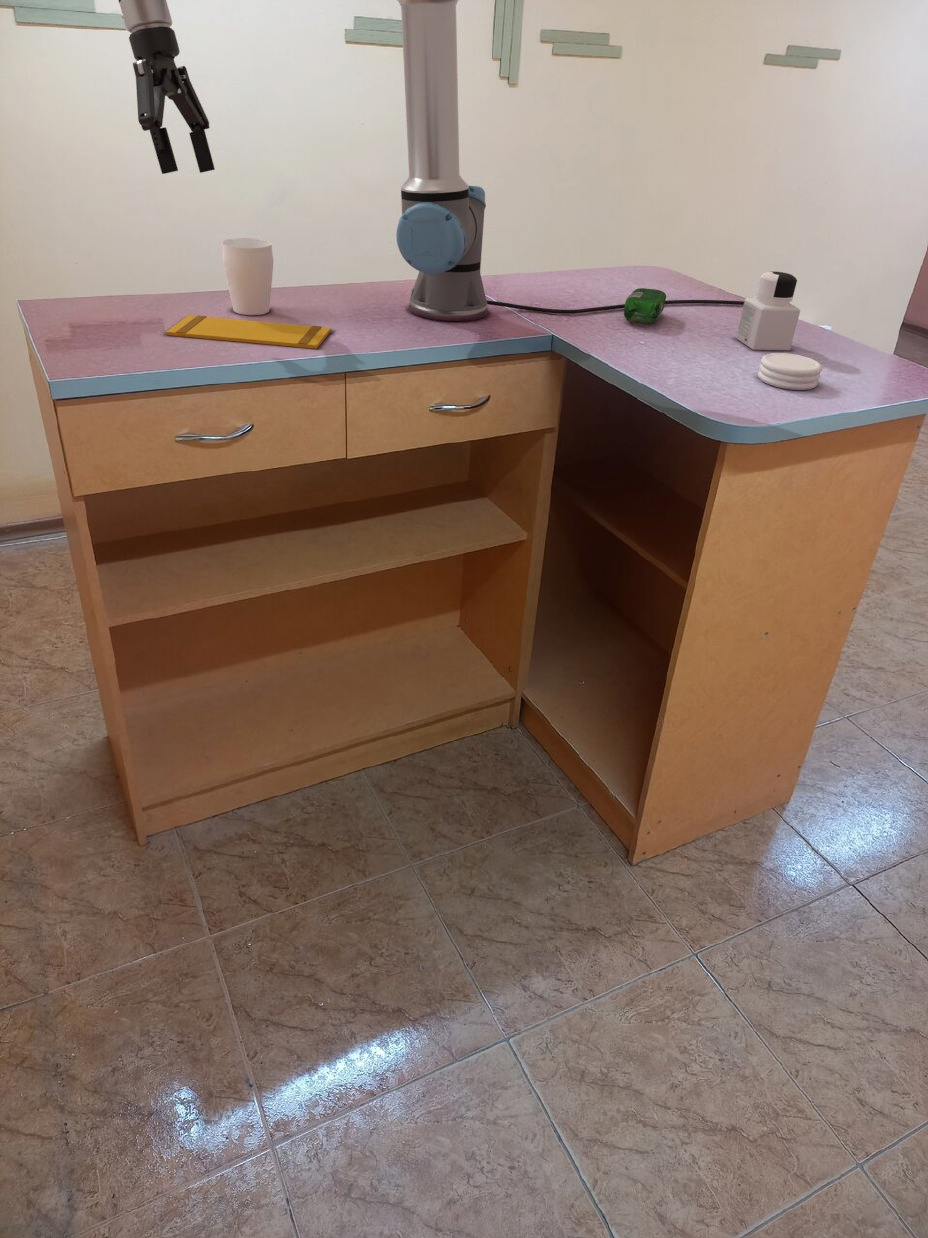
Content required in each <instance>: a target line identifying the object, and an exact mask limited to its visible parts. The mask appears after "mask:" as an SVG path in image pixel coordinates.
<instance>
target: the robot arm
mask: <svg viewBox="0 0 928 1238" xmlns="http://www.w3.org/2000/svg"><path fill="white" fill-rule="evenodd" d="M396 1H397V2H398V3H399V6H400V11H401V12H400V13H401V14H400V15H401V33H402V34H401V35H402V57H403V73H404V74H403V75H404V77H403V78H404V95H405V99H404V100H405V119H406V139H407V140H406V141H407V160H408V161H407V162H408V163H407V164H408V177H407V178H406V180H405V181H404V183H403V184H402V185H401V186H400V198H401V201H400V202H401V216H400V218H399V219H398V224H397V227H396V233H395V235H396V245H397V248H398V250H399V252H400V255H401V256H402V258H403V260H404V261H405V262H406V263H407V264H408V265H409V266H411V268H413V269H415V270H416V271H418V274H417V276H416V280H415V283H414V285H413V287H412V289H411V292H410V294H411V295H410V297H409V311H410V312H411V313H413V314H414V315H416V316H419V317H422V318H425V319H431V320H437V321H445V322H446V321H447V322H467V321H469V322H470V321H476V320H480V319H482V318H484V317H485V316H487V313H488V312H487V311H488V306H496V307H503V308H510V309H516V310H523V311H530V312H539V313H546V314H547V313H548V314H561V315H564V314H565V315H566V314H567V315H571V314H572V315H573V314H586V313H593V312H601V311H602V312H603V311H610V310H619V309H624V307H625V303H624V304H613V305H605V306H594V307H587V308H578V309H560V308H559V309H558V308H547V307H539V306H530V305H522V304H516V303H510V302H503V301H496V300H488V299H487V297H486V292H485V287H484V283H483V279H482V275H481V264H482V263H481V262H482V252H483V236H484V223H485V210H486V207H487V203H486V192H485V190H484V188H483V187H482V186H480V185H479V186H478V185H468V184H467V182H466V181H465V180H464V179H463V177H462V176H461V173H460V134H459V133H460V131H459V130H460V129H459V84H458V83H459V82H458V81H459V80H458V38H457V37H458V35H457V34H458V33H457V31H458V30H457V28H458V27H457V4H458V2H459V0H396ZM118 3H119V7H120V11H121V14H120V15H121V18H122V19H123V21H124V24H125V28H126V31H127V32H128V33H130V34H129V36H128V40H129V44H130V47H131V51H132V54H133V57H134V58H133V59H135V61H133V62H132V67H133V72H134V76H135V87H136V104H137V105H136V106H137V120H138V122H139V125H140V126H141V129H142V130H143V131H144V132H148V131H149V133H150V137H151V140H152V145H153V147H154V151H155V155H156V159H157V161H158V165H159V168H160V172H161V174H162V175H164V174H165V175H166V174H170V173H174V172H175V173H176V172H178V171H179V168H178V165H177V161H176V158H175V155H174V151H173V147H172V143H171V140H170V137H169V133H168V129H167V127H166V126H165V127H163V122H164V114H165V113H164V112H165V103H166V97H167V98H168V99H169V100H171V101H172V102H173V103H174V105H175V106H176V108H177V110H178V111H179V113H180V115H181V116H182V118H183V120H184V121H185V123H186V125H187V126H188V128H189V129H190V132H188V134H189V137H190V141H191V145H192V149H193V153H194V156H195V159H196V163H197V167H198V170H199V173H202V174H203V173H207V172H210V171H211V172H212V171H215V169H216V168H215V165H214V161H213V160H214V159H213V157H212V154H211V150H210V145H209V142H208V138H207V134H206V131H205V130H209V129H210V120H209V118H208V117H207V114H206V111H205V110H204V107H203V105H202V103H201V102H200V100H199V97H198V95H197V92H196V90H195V88H194V86H193V84H192V82H191V80H190V75H189V73H188V69H187V67H186V66H185V65H182V66H181V65H180V66H177V65H176V62H175V58H176V57H178V56H179V55H180V51H181V50H180V47H179V43H178V40H177V36H176V35H177V34H176V32H175V30H174V29H173V28H172V25H173V20H172V19H173V18H172V16H171V13H170V9H169V4H168V1H167V0H118ZM744 302H745V300H744V301H743V300H726V299H724V300H723V299H671V300H670V299H669V300H665V305H683V304H684V305H685V304H686V305H687V304H689V305H690V304H691V305H692V304H696V305H697V304H698V305H699V304H701V305H704V304H705V305H706V304H707V305H733V306H736V305H737V306H744Z"/></svg>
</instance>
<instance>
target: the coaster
mask: <svg viewBox="0 0 928 1238" xmlns="http://www.w3.org/2000/svg"><path fill="white" fill-rule="evenodd" d="M822 371H823V367H822V364H821V363H820V362H818V361H817V360H815V359H813V358H810V357H808V356H804V355H800V354H793V353H788V352H787V353H786V352H773V353H767V354H766V355H763V356H762V358H761V360H760V364H759V370H758V372H757V377H758V378H759V380H760V381H761V382H763V383H765V384H767V385H769V386H772V387H776V388H778V389H779V388H780V389H784V390H790V391H809V390H812V389H814V388H816V387H817V386H818V384H819V379H820V378H821V372H822Z"/></svg>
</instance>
